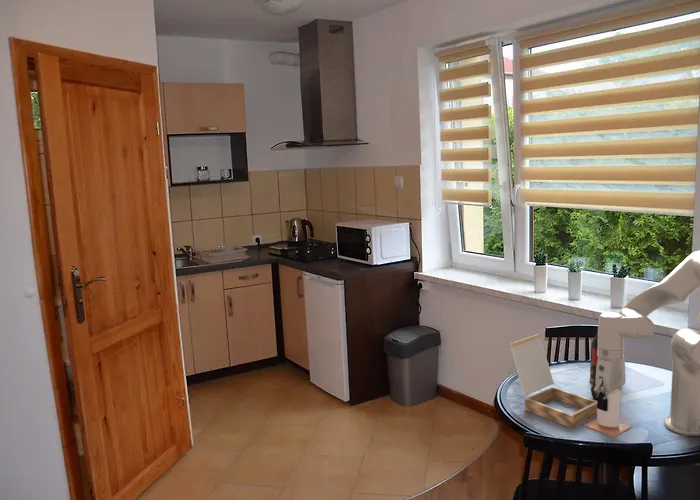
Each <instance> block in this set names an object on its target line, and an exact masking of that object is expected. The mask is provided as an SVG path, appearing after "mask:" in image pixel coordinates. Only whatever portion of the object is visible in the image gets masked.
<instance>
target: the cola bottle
mask: <svg viewBox="0 0 700 500" xmlns="http://www.w3.org/2000/svg"><path fill="white" fill-rule="evenodd" d="M594 337H595V338H594ZM594 337H593V338H594V340H593V339H592V340H593V342H592V341H591V342H592V343H593V344H592V346H593V356H592V371H593V379H594V381H593V383H592V384H591V387H590V394H591V398H592V400H595V401H597V396H596V393H595V392H594V387H595V386H596V368H597V361H598V356H597V353H598V332H597V333H596V334H595V336H594Z"/></svg>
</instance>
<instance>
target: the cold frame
mask: <svg viewBox="0 0 700 500" xmlns="http://www.w3.org/2000/svg"><path fill="white" fill-rule="evenodd" d="M552 400H556V401H559V402H561V403H563V404H564V403H565V404H567V405H571V406H572V407H576V408H578V410H576V411H575V412H572V413H569V412H567V411H566V412H565V411H564V410H560V409H558V408H555V407H552V406H549V405H547V404H545V403H548V402H550V401H552ZM524 411H526V412H527V411H528V412H530V413H532V414H535V415H538V416H540V417H542V418H545V419H548V420H550V421H551V422H556V423H558V424H561V425H563V426H565V427H568V428H571V429H572V428H574V427H576V426H578V425H580V424H582V423H583V422H586V421H588V420H590V419H591V418H594V417H596V416H597V401H596V400H594V399H593V398H592V399H591V398H588V397H585V396H582V395H580V394H577V393H574V392H570V391H567V390H565V389H562V388H558V387H555V386H551V387H549V388H546V389H544V390H542V391H538V393H535V394H531V395H530V396H527V397H526V398H524Z"/></svg>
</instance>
